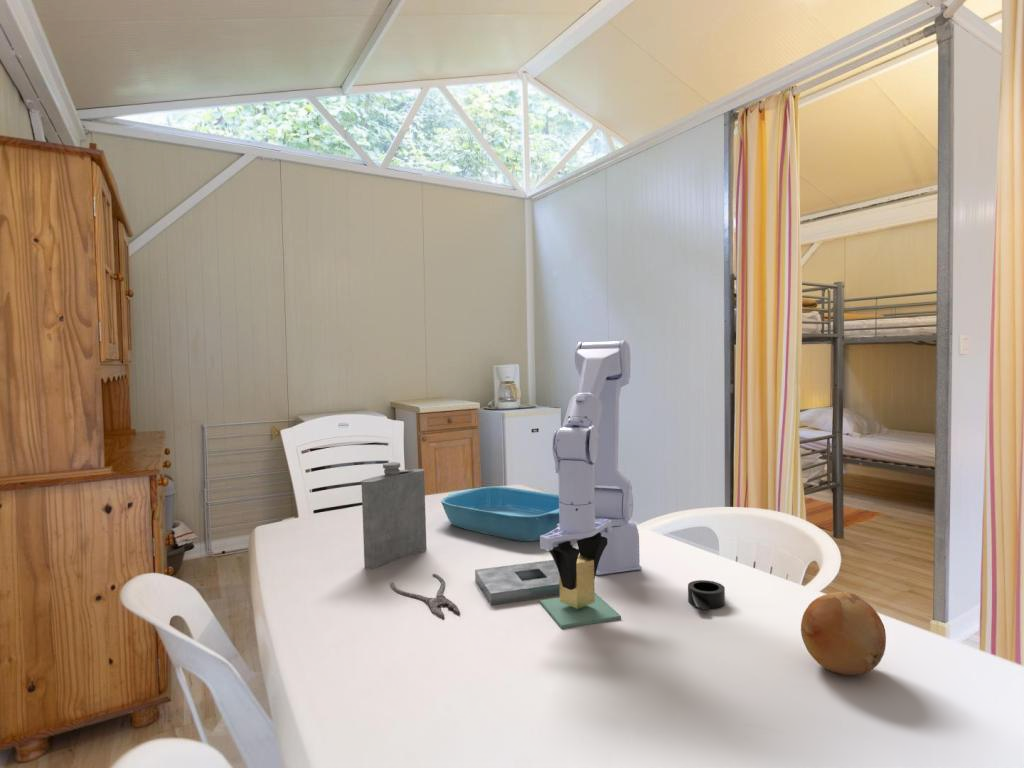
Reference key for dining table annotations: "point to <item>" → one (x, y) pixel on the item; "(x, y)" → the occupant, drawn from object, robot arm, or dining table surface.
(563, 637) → the dining table surface
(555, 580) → the grey board with hole
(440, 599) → the pliers
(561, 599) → the brushed gold bar
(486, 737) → the dining table surface
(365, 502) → the hip flask
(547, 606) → the green mat
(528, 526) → the casserole dish
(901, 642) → the dining table surface
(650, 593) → the dining table surface
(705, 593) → the duct tape
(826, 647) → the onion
